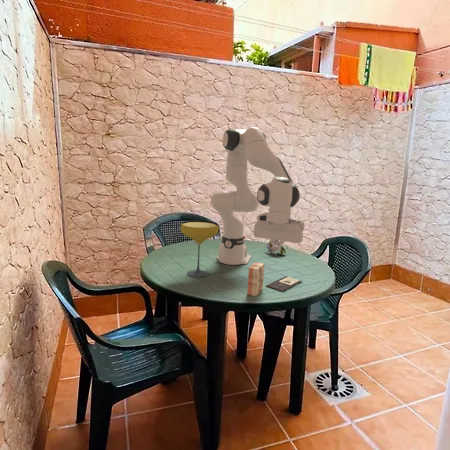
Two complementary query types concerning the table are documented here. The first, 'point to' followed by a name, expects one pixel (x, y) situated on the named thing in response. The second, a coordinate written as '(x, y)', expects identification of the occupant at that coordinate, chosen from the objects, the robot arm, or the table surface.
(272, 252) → the passion flower
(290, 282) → the chocolate bar
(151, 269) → the table surface
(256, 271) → the tan wooden block
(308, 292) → the table surface
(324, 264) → the table surface
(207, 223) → the cocktail glass
